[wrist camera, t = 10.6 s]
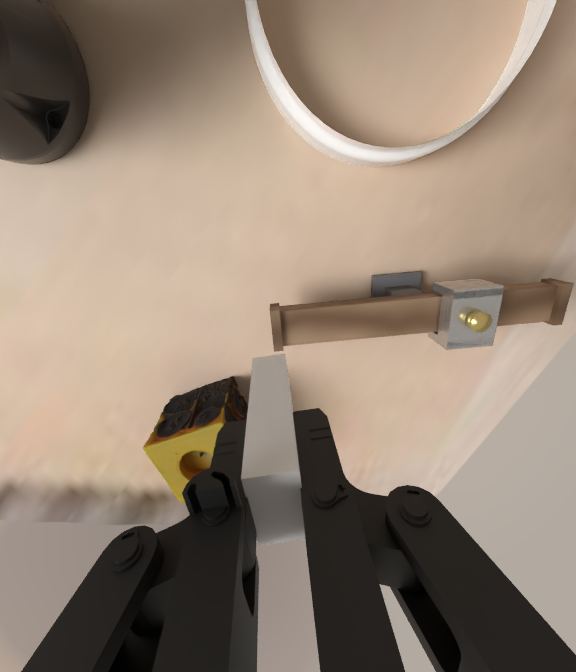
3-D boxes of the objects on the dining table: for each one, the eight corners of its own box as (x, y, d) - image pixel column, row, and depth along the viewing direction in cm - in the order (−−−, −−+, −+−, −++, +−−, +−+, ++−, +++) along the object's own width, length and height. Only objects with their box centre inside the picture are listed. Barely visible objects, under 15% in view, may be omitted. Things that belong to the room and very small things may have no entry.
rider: (433, 282, 32) (461, 293, 28) (477, 278, 32) (513, 288, 28) (427, 336, 35) (452, 354, 30) (469, 332, 35) (501, 350, 30)
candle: (234, 374, 42) (223, 419, 32) (259, 428, 45) (256, 482, 36) (168, 396, 42) (139, 446, 33) (198, 447, 46) (180, 505, 37)
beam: (269, 284, 37) (268, 299, 30) (519, 262, 37) (576, 271, 30) (274, 336, 40) (275, 361, 32) (508, 314, 40) (559, 334, 33)
